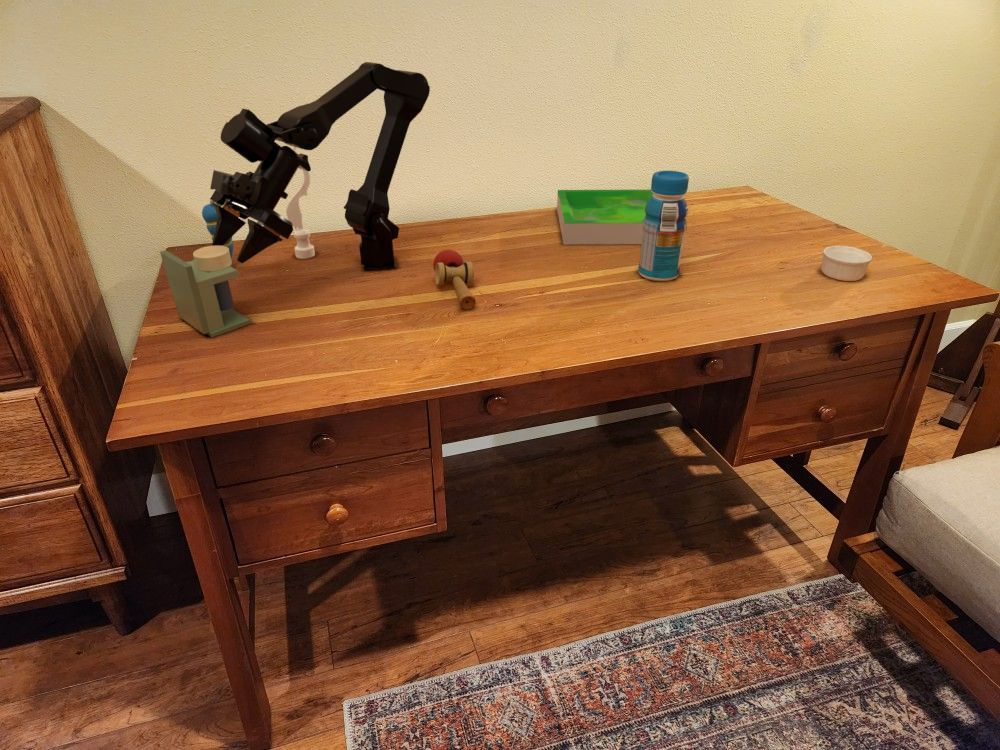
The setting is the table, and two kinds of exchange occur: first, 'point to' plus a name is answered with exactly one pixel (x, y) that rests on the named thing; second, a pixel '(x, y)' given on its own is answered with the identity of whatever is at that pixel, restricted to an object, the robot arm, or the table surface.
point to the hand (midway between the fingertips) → (226, 255)
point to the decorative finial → (300, 221)
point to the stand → (200, 296)
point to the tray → (602, 216)
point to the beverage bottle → (664, 226)
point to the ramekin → (845, 262)
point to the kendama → (455, 275)
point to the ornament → (214, 224)
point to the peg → (214, 261)
